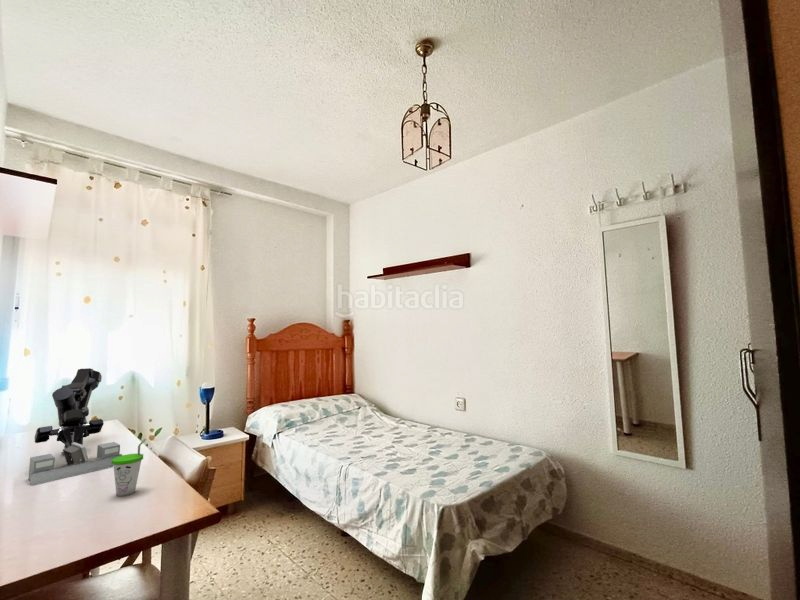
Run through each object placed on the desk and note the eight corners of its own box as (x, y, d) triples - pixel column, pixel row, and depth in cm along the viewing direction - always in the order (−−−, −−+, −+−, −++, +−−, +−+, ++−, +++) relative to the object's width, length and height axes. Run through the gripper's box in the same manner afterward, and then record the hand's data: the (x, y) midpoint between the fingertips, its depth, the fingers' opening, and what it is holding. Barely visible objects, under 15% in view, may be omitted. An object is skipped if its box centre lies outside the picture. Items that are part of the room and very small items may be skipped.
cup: (103, 500, 105) (107, 446, 107) (116, 489, 113) (119, 439, 115) (135, 496, 107) (138, 443, 109) (146, 486, 115) (148, 437, 117)
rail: (29, 483, 119) (30, 472, 119) (119, 463, 138) (120, 453, 138) (31, 485, 118) (31, 474, 118) (121, 464, 136) (122, 454, 137)
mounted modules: (28, 479, 123) (30, 457, 124) (112, 460, 141) (113, 441, 142) (32, 484, 119) (34, 461, 120) (119, 464, 137) (120, 444, 138)
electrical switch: (91, 470, 131) (90, 443, 131) (72, 476, 127) (71, 449, 127) (80, 465, 136) (79, 440, 136) (62, 471, 132) (61, 445, 132)
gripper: (39, 404, 132) (42, 441, 124) (103, 397, 147) (110, 430, 139) (32, 424, 136) (35, 461, 128) (96, 415, 151) (102, 448, 143)
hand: (73, 449), depth 134 cm, fingers closed, pressing on electrical switch
